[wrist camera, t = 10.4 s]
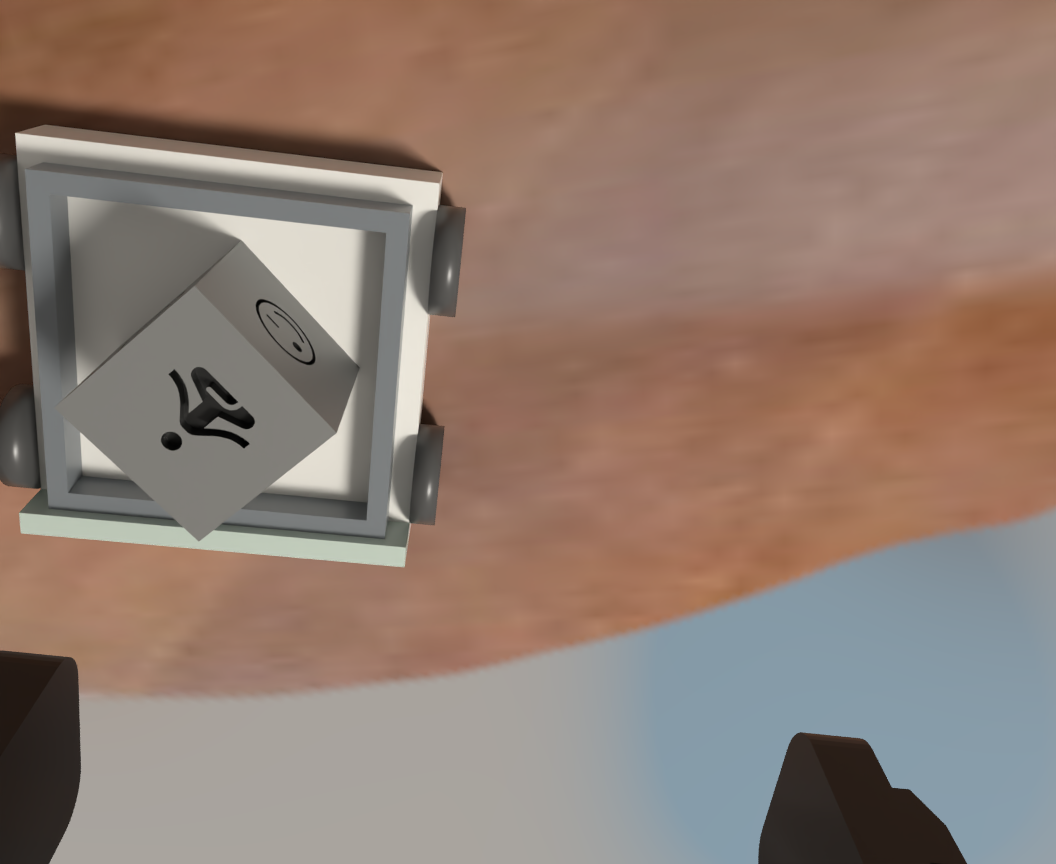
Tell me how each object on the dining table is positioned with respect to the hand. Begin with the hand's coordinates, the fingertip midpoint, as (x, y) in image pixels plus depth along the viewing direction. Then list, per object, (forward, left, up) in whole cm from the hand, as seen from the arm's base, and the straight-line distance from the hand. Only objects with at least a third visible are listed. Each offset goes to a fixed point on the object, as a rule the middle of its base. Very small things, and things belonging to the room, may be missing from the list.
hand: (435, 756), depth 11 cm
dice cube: (+3, -7, -20) cm, 21 cm away
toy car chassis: (+3, -7, -22) cm, 23 cm away
